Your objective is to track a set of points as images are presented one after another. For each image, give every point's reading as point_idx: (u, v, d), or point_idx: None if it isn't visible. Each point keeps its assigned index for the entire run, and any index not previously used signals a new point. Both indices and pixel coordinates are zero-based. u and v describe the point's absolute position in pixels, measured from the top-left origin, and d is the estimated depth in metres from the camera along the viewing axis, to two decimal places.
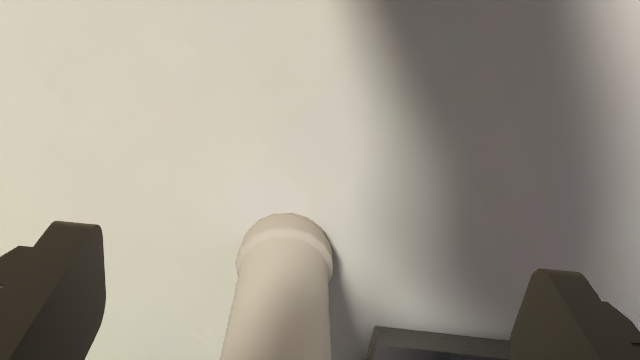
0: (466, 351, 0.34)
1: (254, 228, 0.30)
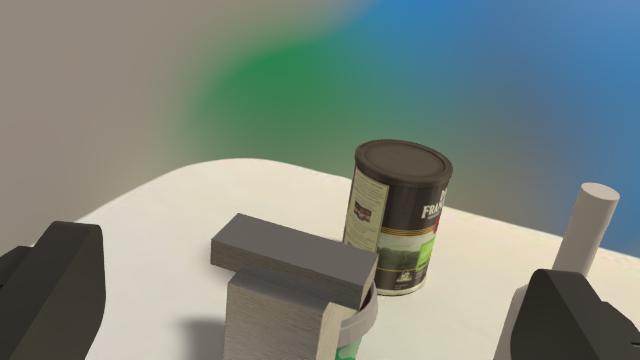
0: None
1: None
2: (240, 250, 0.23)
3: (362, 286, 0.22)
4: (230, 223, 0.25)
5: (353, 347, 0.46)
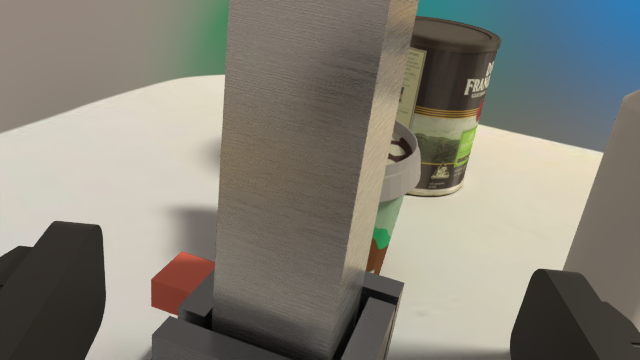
0: None
1: None
2: None
3: None
4: None
5: (390, 215, 0.36)
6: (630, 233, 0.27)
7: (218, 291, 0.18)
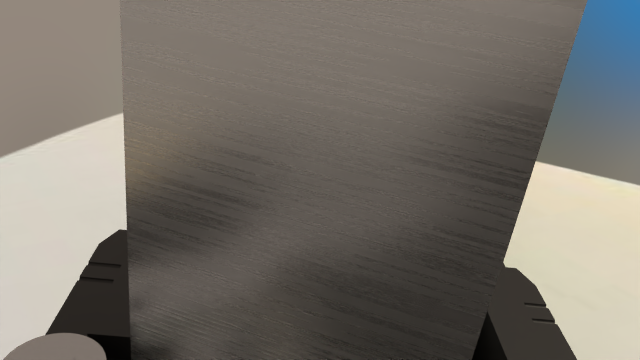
0: None
1: None
2: None
3: None
4: None
5: None
6: None
7: None
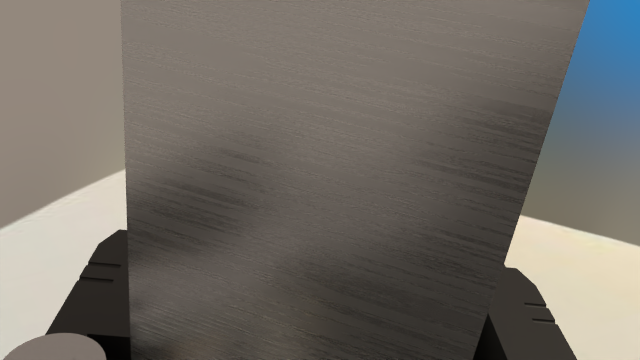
0: None
1: None
2: None
3: None
4: None
5: None
6: None
7: None
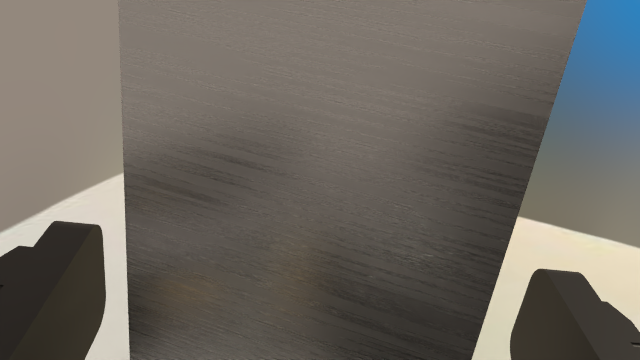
0: None
1: None
2: None
3: None
4: None
5: None
6: None
7: None
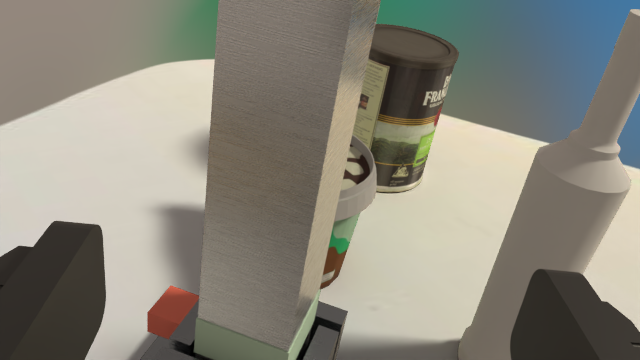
0: None
1: None
2: None
3: None
4: None
5: (349, 227, 0.42)
6: (536, 261, 0.33)
7: (210, 190, 0.20)
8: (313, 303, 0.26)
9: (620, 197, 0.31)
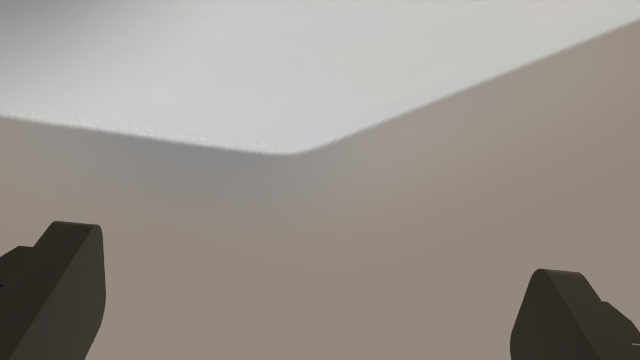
0: None
1: None
2: None
3: None
4: None
5: None
6: None
7: None
8: None
9: None
